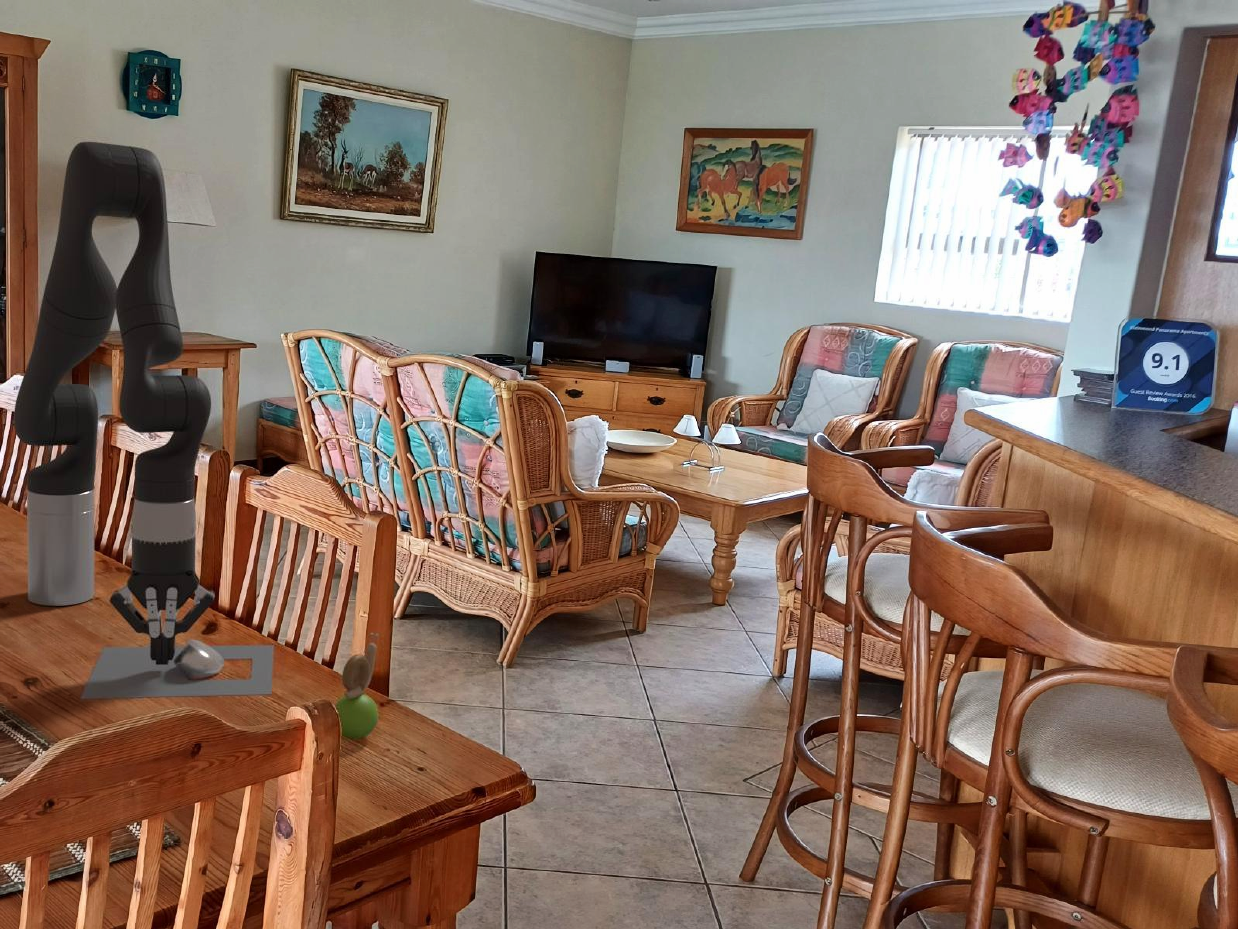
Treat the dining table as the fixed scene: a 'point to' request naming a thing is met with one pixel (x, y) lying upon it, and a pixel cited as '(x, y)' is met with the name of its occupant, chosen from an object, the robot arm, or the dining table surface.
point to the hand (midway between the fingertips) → (162, 662)
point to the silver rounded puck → (198, 660)
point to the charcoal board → (173, 675)
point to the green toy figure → (358, 695)
